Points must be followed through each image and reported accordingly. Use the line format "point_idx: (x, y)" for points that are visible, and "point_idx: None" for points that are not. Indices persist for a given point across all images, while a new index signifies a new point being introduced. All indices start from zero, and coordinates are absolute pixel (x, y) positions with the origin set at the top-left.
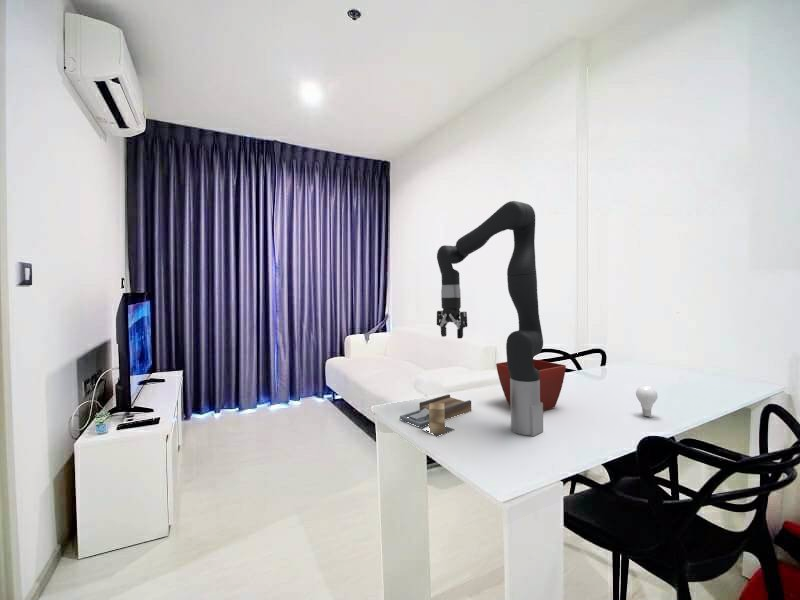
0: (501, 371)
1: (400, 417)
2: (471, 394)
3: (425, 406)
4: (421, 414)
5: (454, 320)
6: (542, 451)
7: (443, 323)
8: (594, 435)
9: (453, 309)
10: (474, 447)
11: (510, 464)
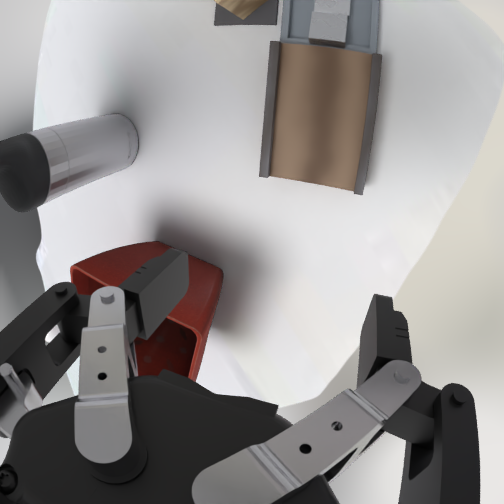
0: (184, 307)
1: None
2: (350, 303)
3: (357, 57)
4: (331, 14)
5: (89, 349)
6: (68, 86)
7: (349, 393)
8: (60, 200)
9: (26, 497)
10: (138, 3)
11: (79, 15)
